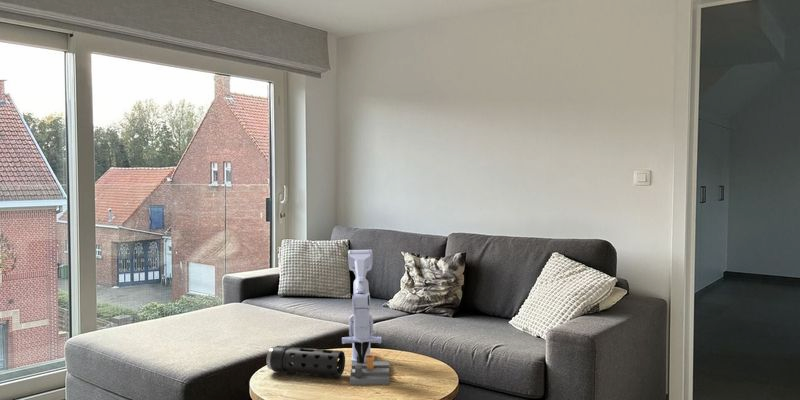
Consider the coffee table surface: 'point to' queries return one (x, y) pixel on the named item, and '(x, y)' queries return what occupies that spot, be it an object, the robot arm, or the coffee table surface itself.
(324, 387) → the coffee table surface
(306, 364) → the muzzle brake
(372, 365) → the handle
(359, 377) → the box
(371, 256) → the robot arm
